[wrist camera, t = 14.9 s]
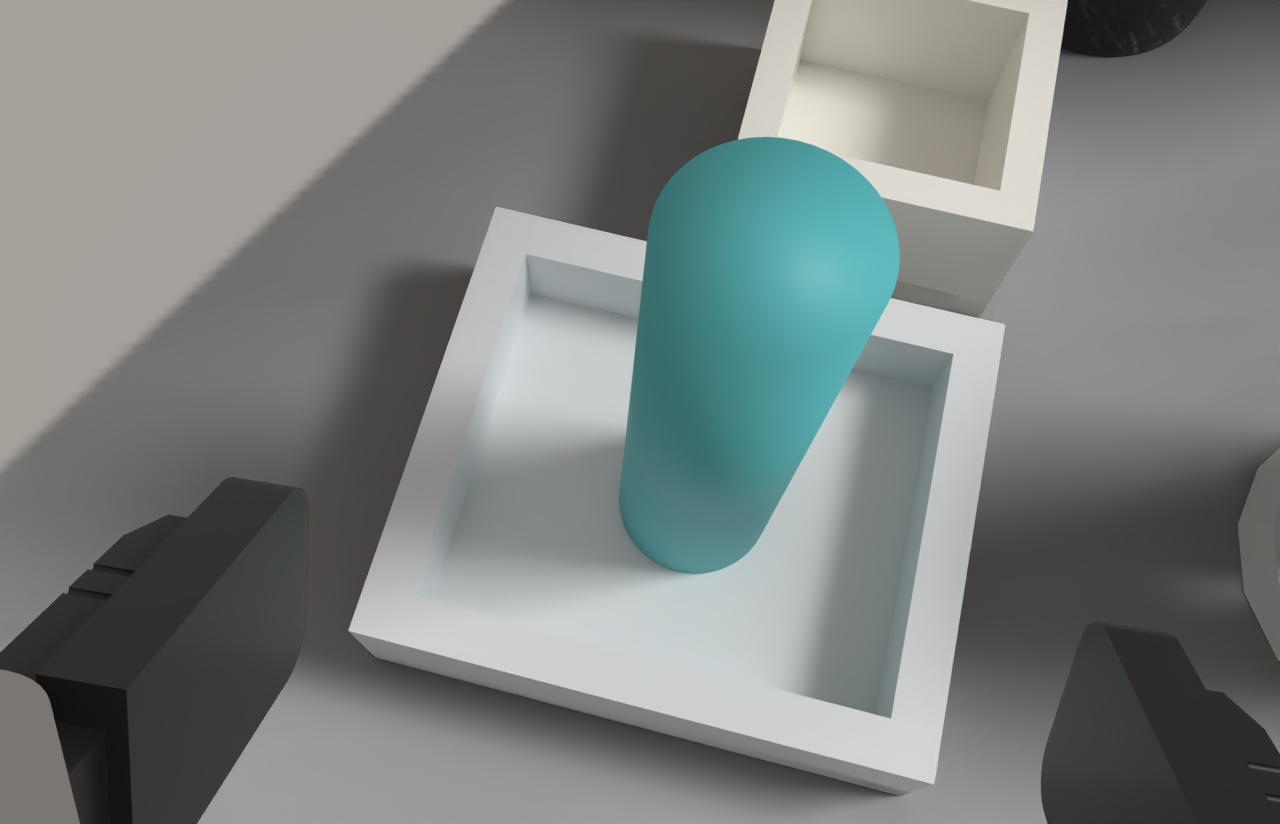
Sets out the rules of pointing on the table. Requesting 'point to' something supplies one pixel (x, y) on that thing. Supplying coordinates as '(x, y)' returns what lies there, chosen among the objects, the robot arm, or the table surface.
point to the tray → (660, 597)
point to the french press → (1263, 549)
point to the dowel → (745, 339)
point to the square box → (923, 122)
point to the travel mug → (1125, 24)
